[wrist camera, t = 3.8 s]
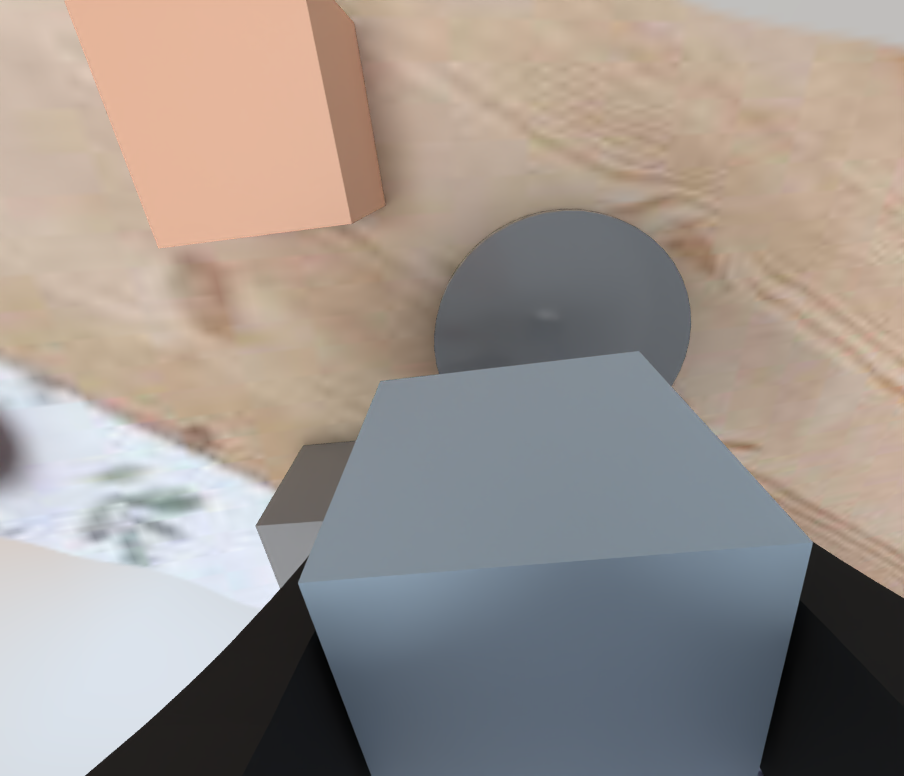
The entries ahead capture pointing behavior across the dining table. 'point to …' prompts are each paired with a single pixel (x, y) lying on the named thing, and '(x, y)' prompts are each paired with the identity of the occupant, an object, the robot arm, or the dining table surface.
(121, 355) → the dining table surface
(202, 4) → the terracotta cube
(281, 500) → the charcoal cube
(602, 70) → the dining table surface
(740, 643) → the blue cube
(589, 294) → the slate coaster
